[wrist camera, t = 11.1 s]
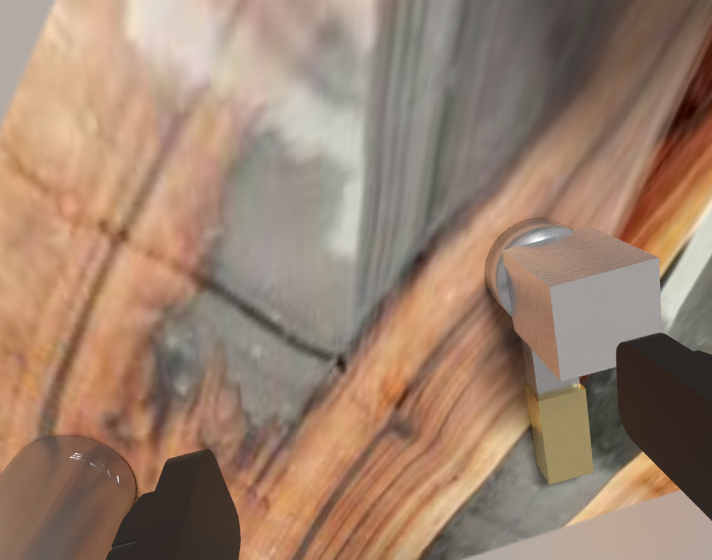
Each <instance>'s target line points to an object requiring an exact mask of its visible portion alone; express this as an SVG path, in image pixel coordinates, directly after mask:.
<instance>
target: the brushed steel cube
mask: <svg viewBox="0 0 712 560" xmlns="http://www.w3.org/2000/svg"><path fill="white" fill-rule="evenodd" d="M502 252H503V258H504V265H505V272H506V278H507V285H508V291H509V298H510V305H511V311H512V318H513V325H514V330H515V331H516V332H517V334H518V335H519V336H520V337H521V338H522V339H523V340H524V341H525V342H526V344H527V345H528V346H529V347H530V348H531V349H532V350H533V351H534V352H535V354H536V355H537V356H538V357H539V358H540V359H541V360H542V361H543V362H544V363H545V365H546V366H547V367H548V368H549V369H550V370H551V371H552V372H553V373H554V375H555V376H556V377H557V378H558V379H559V380H560V381H565V380H569V379H572V378H576V377H580V376H584V375H587V374H591V373H595V372H598V371H602V370H606V369H610V368H613V367H616V348H617V346H618V344H619V343H621V342H624V341H628V340H632V339H636V338H640V337H644V336H647V335H651V334H655V333H661V304H660V273H659V257H656V256H654V255H652V254H650V253H647V252H645V251H643V250H641V249H639V248H636V247H634V246H632V245H630V244H627V243H625V242H623V241H621V240H619V239H616V238H614V237H612V236H610V235H608V234H605V233H603V232H601V231H599V230H596V229H594V228H592V227H588V228H584V229H581V230H577V231H573V232H569V233H566V234H562V235H558V236H554V237H551V238H547V239H543V240H540V241H536V242H532V243H528V244H525V245H521V246H517V247H514V248H510V249H506V250H502Z"/></svg>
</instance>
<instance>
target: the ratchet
mask: <svg viewBox="0 0 712 560" xmlns="http://www.w3.org/2000/svg"><path fill="white" fill-rule="evenodd" d="M573 231H575V230H573V229H571V228H569V227H567V226H565V225H563V224H561V223H559V222H557V221H554V220H550V219H545V218H535V219H529V220H525V221H522V222H519V223H517V224H515V225H513V226H512V227H510V228H509V229H507V230H506V231H505V232H504V233H502V234H501V235H500V236H499V238H498V239H497V240H496V241H495V243H494V244H493V246H492V247H491V249H490V251H489V253H488V256H487V259H486V264H485V281H486V285H487V287H488V290H489V292H490V293H491V295H492V296H493V297H494V299H495V300H496V301H497V302H498V303H499V304H500V305H501V306H502V307H503V308H504V309H505V311H506V312H507V313H508V314H509V315H510V316H511V317H512V311H511V305H510V298H509V291H508V285H507V278H506V272H505V265H504V258H503V252H502V250H506V249H510V248H514V247H517V246H521V245H525V244H528V243H532V242H536V241H540V240H543V239H547V238H551V237H554V236H558V235H562V234H566V233H569V232H573ZM520 338H521V337H520ZM521 345H522V351H523V358H524V365H525V372H526V379H527V384H525V389H526V396H527V403H528V410H529V416H530V423H531V430H532V437H533V443H534V450H535V457H536V464H537V465H538V467H539V469H540V470H541V472H542V473H543V475H544V477H545V478H546V480H547V481H548V483H549V484H554V483H558V482H561V481H565V480H569V479H572V478H576V477H580V476H584V475H587V474H591V473H594V472H593V461H592V451H591V441H590V431H589V420H588V410H587V400H586V389H585V388H584V387H583V386H582V385H581V384H580V382H579V377H576V378H572V379H569V380H565V381H560V380H559V379H558V378H557V377H556V376H555V375H554V373H553V372H552V371H551V370H550V369H549V368H548V367H547V366H546V365H545V363H544V362H543V361H542V360H541V359H540V358H539V357H538V356H537V355H536V354H535V352H534V351H533V350H532V349H531V348H530V347H529V346H528V345H527V344H526V342H525V341H524V340H523V339H522V338H521Z"/></svg>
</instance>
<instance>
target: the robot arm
mask: <svg viewBox="0 0 712 560" xmlns="http://www.w3.org/2000/svg"><path fill="white" fill-rule="evenodd" d="M616 370H617V391H618V409H619V415H620V418H621V421H622V424H623V426H624V428H625V430H626V432H627V434H628V435H629V437H630V438H631V439H632V441H633V442H634V443H635V444H636V445H637V446H638V447H639V448H640V449H641V450H642V451H643V452H644V453H645V454H646V455H647V456H648V457H649V458H650V459H651V460H652V461H653V462H654V463H655V464H656V465H657V466H658V467H659V468H660V469H661V470H662V471H663V472H664V473H665V474H666V475H667V476H668V477H669V478H670V479H671V480H672V481H673V482H674V483H675V484H676V485H677V486H678V487H679V488H680V489H681V490H682V491H683V492H684V493H685V494H686V495H687V496H688V497H689V498H690V499H691V500H692V501H693V502H694V503H695V504H696V505H697V506H698V507H699V508H700V509H701V510H702V511H703V512H704V513H705V514H706V515H707V516H708V517H709V518H710V519H711V520H712V355H711V354H708V353H705V352H702V351H698V350H697V351H692V350H690V349H688V348H687V347H685V346H684V345H682V344H680V343H679V342H677V341H676V340H674V339H672V338H671V337H669V336H668V335H666V334H664V333H655V334H651V335H647V336H644V337H640V338H636V339H632V340H628V341H624V342H621V343H619V344H618V346H617V348H616ZM135 492H136V485H135V480H134V476H133V474H132V472H131V470H130V468H129V466H128V465H127V463H126V462H125V461H124V460H123V459H122V458H121V456H119V455H118V454H117V453H116V452H114V451H113V450H112V449H110V448H108V447H107V446H105V445H103V444H101V443H99V442H96V441H93V440H90V439H87V438H83V437H77V436H54V437H48V438H43V439H41V440H38V441H36V442H33V443H31V444H29V445H28V446H26V447H25V448H23V449H22V450H21V451H20V452H19V453H18V454H17V455H16V456H15V457H14V458H13V460H12V461H11V462H10V463H9V465H8V466H7V467H6V468H5V469H4V471H3V472H2V473H1V474H0V560H238V559H239V551H240V541H241V536H240V524H239V519H238V514H237V511H236V508H235V505H234V503H233V501H232V498H231V496H230V493H229V491H228V488H227V486H226V483H225V481H224V478H223V476H222V473H221V471H220V468H219V466H218V463H217V461H216V458H215V456H214V454H213V453H212V451H211V450H209V449H205V450H201V451H197V452H193V453H189V454H185V455H182V456H178V457H174V458H170V459H168V460H167V461H166V463H165V465H164V467H163V470H162V473H161V475H160V478H159V481H158V484H157V486H156V489H155V491H153V492H150V493H146V494H143V495H142V496H141V497H140V498H139V500H138V501H137V502H136V503H135V505H134V506H133V507H132V504H133V501H134V498H135ZM131 507H132V508H131Z"/></svg>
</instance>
